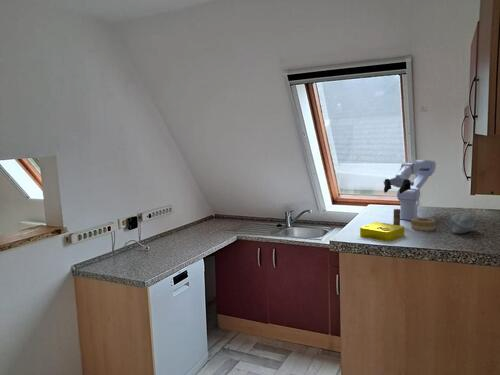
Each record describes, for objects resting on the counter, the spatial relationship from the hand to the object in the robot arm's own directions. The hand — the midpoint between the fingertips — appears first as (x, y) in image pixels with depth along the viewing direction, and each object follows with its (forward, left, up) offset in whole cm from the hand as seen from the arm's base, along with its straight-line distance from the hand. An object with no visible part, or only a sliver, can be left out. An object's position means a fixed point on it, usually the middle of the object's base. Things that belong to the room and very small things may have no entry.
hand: (392, 191), depth 199 cm
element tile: (+19, +4, -18) cm, 27 cm away
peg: (-3, +1, -17) cm, 17 cm away
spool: (-8, +29, -17) cm, 35 cm away
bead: (-5, +13, -17) cm, 22 cm away
